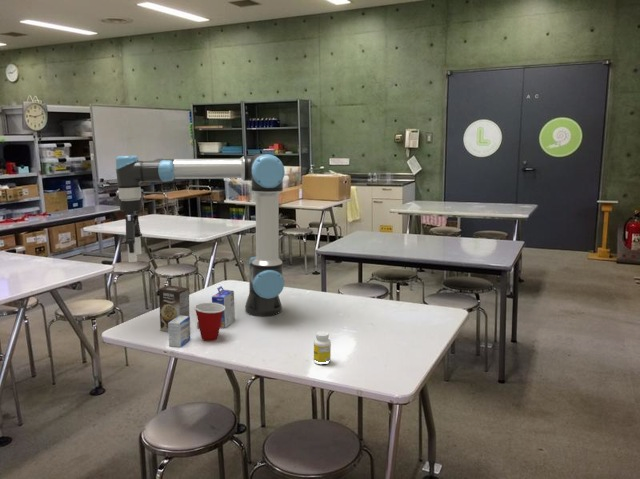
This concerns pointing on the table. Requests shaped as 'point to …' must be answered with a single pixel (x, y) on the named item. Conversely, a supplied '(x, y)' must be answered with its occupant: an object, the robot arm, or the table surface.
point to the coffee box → (172, 304)
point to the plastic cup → (209, 319)
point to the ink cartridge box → (228, 301)
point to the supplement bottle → (322, 347)
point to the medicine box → (179, 331)
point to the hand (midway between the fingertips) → (135, 257)
